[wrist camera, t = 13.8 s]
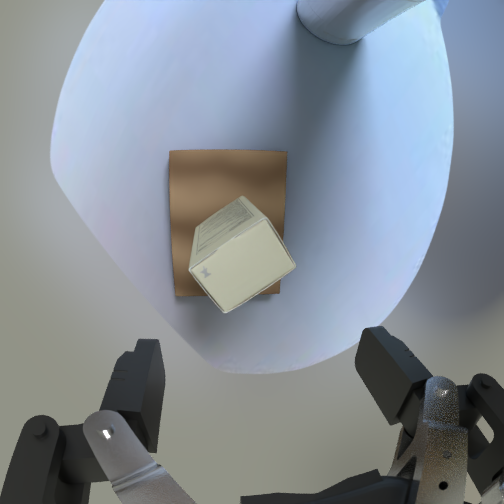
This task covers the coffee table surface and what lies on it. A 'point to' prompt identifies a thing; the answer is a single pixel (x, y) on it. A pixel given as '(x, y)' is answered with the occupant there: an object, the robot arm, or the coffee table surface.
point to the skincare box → (237, 254)
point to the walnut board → (220, 198)
